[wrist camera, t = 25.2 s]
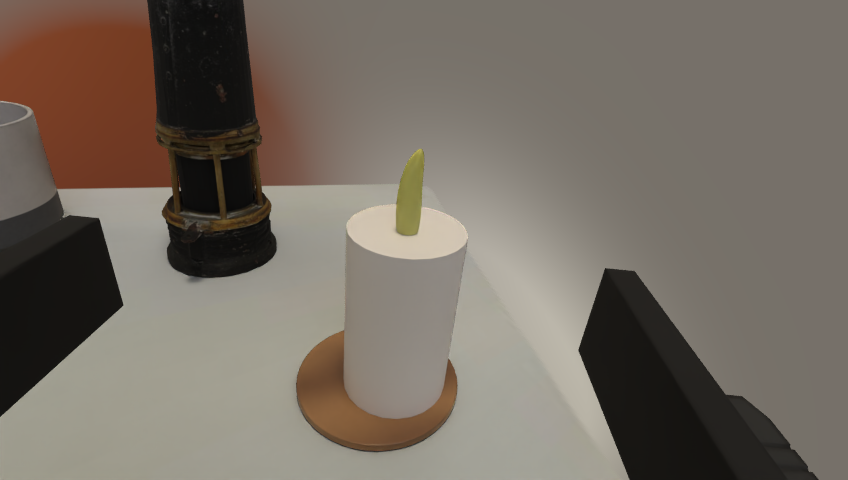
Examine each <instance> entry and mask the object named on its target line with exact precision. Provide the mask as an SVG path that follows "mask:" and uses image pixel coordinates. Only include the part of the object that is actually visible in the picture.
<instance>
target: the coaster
mask: <svg viewBox="0 0 848 480" xmlns="http://www.w3.org/2000/svg"><path fill="white" fill-rule="evenodd" d="M343 377H344V331H341V332H339V333H336V334H334V335H332V336H330V337H328V338H326V339H325V340H323V341H322V342H320V343H319V344H318V345H317V346H316V347H314V348H313V349H312V350H311V352H310V353H309V354H308V355H307V356H306V358H305V359H304V361H303V363H302V365H301V367H300V369H299V372H298V375H297V383H296V386H297V399H298V403H299V406H300V408H301V411H302V413H303V415H304V416H305V418H306V419H307V421H308V422H309V423H310V424H311V425H312V426H313V427H314V429H316V430H317V431H318V432H319V433H321V434H322V435H323V436H325V437H327V438H328V439H330V440H332V441H334V442H336V443H338V444H341V445H343V446H347V447H350V448H354V449H359V450H365V451H386V450H394V449H399V448H403V447H406V446H410V445H413V444H415V443H417V442H419V441H421V440H423V439H425V438H427V437H428V436H430V435H431V434H433V433H434V432H435V431H436V430H437V429H439V428H440V427H441V426H442V424H443V423H444V422H445V421H446V420H447V418H448V416H449V415H450V413H451V411H452V409H453V407H454V404H455V399H456V395H457V377H456V374H455V370H454V368H453V366H452V363H451V362H450V360H449V358H448V363H447V369H446V375H445V381H444V387H443V390H442V393H441V396H440V398H439V399H438V400H437V402H436V403H435V404H434V405H433V406H432V407H431V408H429V409H428V410H426V411H425V412H423V413H421V414H418V415H416V416H413V417H409V418H401V419H391V418H382V417H378V416H375V415H372V414H369V413H367V412H366V411H364V410H362V409H361V408H359V407H357V405H356V404H355V403H354V402H353V401H352V400H351V399H350V398H349V396H348V394H347V392H346V390H345V387H344V378H343Z"/></svg>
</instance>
